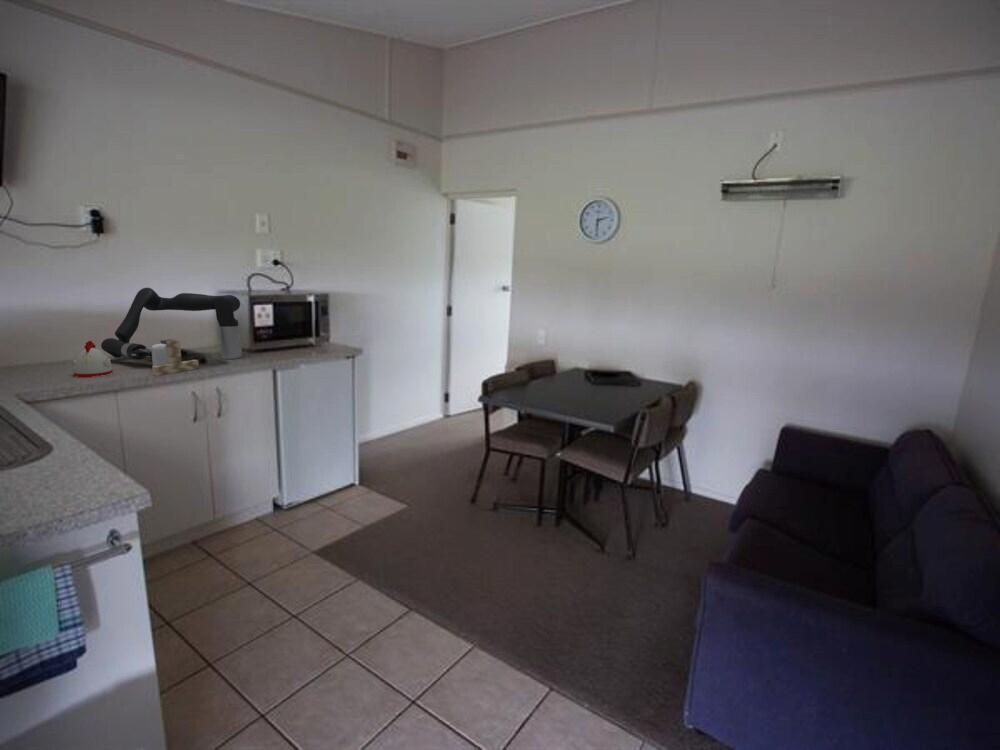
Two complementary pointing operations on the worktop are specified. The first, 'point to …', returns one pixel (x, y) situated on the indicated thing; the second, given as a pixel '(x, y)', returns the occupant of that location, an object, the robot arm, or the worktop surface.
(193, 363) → the retention stand
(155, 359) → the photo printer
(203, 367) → the worktop surface
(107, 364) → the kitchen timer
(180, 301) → the robot arm
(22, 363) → the worktop surface
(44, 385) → the worktop surface
